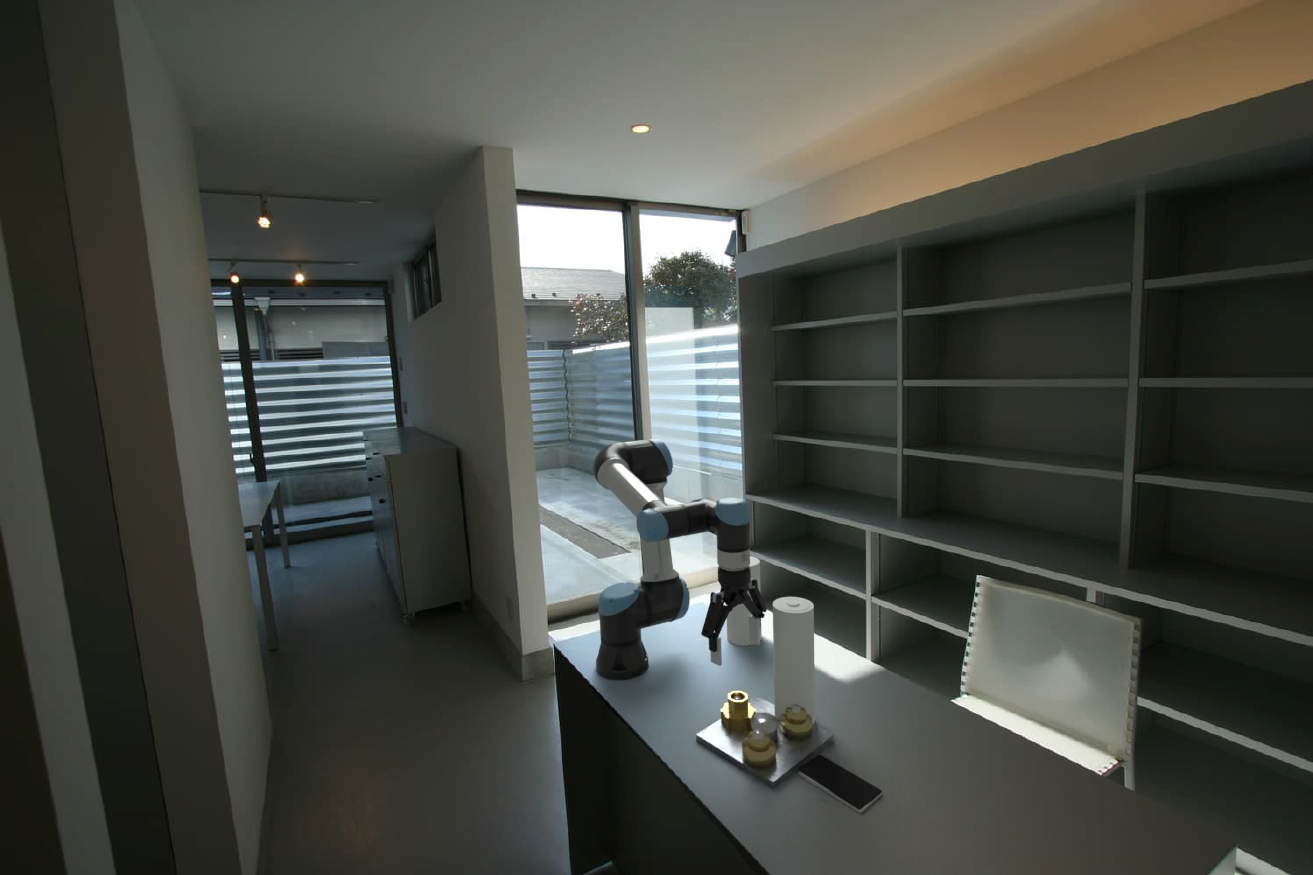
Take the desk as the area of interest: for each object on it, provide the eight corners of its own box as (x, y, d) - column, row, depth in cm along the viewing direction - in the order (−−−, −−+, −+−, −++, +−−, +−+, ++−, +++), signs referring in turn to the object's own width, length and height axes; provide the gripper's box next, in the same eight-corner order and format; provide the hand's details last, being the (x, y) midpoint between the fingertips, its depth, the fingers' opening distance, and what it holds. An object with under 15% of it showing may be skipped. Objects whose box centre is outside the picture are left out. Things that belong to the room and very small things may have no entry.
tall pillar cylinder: (753, 648, 179) (751, 568, 176) (721, 641, 185) (718, 563, 181) (766, 634, 188) (765, 558, 184) (736, 627, 193) (734, 553, 190)
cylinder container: (816, 735, 137) (814, 611, 134) (774, 731, 139) (772, 609, 136) (813, 711, 147) (812, 595, 143) (774, 708, 148) (772, 593, 145)
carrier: (696, 740, 137) (695, 712, 136) (757, 701, 151) (756, 675, 150) (773, 788, 120) (772, 756, 119) (833, 740, 135) (833, 711, 134)
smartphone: (860, 810, 113) (796, 770, 124) (860, 816, 113) (796, 775, 124) (883, 790, 118) (819, 753, 129) (883, 796, 118) (819, 758, 129)
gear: (714, 719, 142) (713, 696, 141) (736, 705, 147) (736, 683, 146) (740, 734, 136) (739, 710, 135) (763, 719, 141) (762, 696, 140)
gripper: (708, 584, 126) (711, 678, 128) (780, 555, 142) (781, 639, 145) (683, 576, 131) (686, 666, 134) (755, 549, 148) (757, 630, 150)
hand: (736, 652), depth 139 cm, fingers open, 13 cm apart
